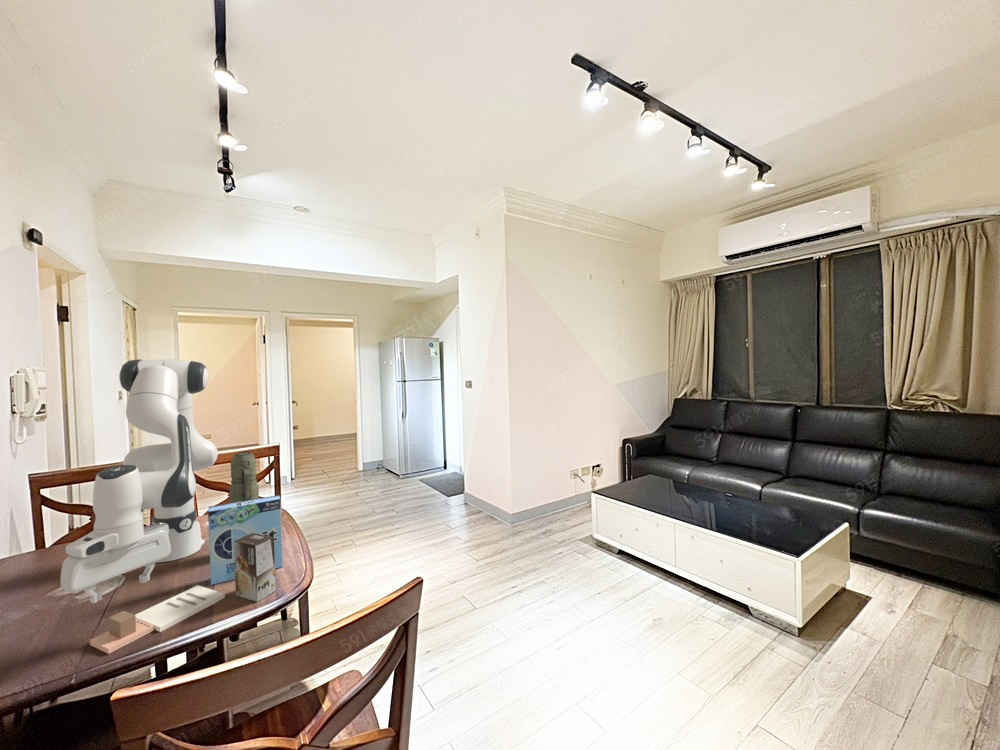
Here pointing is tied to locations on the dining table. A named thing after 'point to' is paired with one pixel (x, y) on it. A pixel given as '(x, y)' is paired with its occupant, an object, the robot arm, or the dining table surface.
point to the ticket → (179, 607)
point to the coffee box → (254, 566)
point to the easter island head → (243, 478)
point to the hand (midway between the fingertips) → (121, 591)
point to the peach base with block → (121, 632)
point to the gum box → (241, 532)
